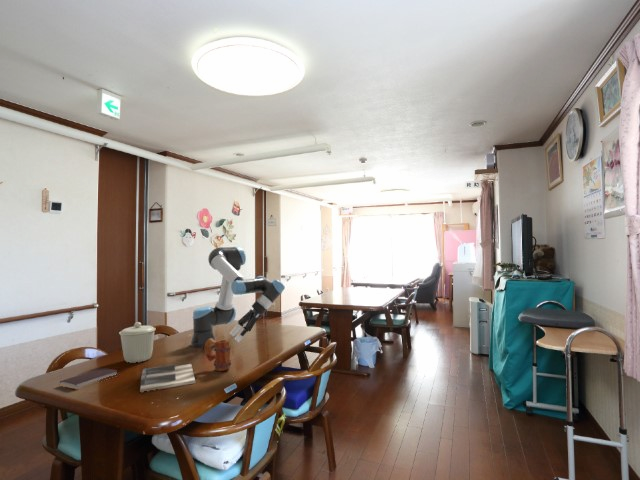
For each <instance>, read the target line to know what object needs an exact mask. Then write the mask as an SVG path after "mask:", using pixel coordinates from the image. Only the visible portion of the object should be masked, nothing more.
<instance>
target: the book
mask: <svg viewBox="0 0 640 480" xmlns="http://www.w3.org/2000/svg"><path fill="white" fill-rule="evenodd" d="M117 372H118V370H116V369H111V368H107V367H106V368H105V367H102V368H101V367H100V368H97V369H95V370H90V371H88V372H86V373H82V374H79V375H75V376H72V377H70V378H66V379H63V380H59V384H60V383H62V384H66V385H70V386H74V387H79V386H82V385H85V384H88V383H90V382H93V381H97V380H100V379H103V378H106V377H109V376H113V375H116V374H117V375H118V373H117Z"/></svg>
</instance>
